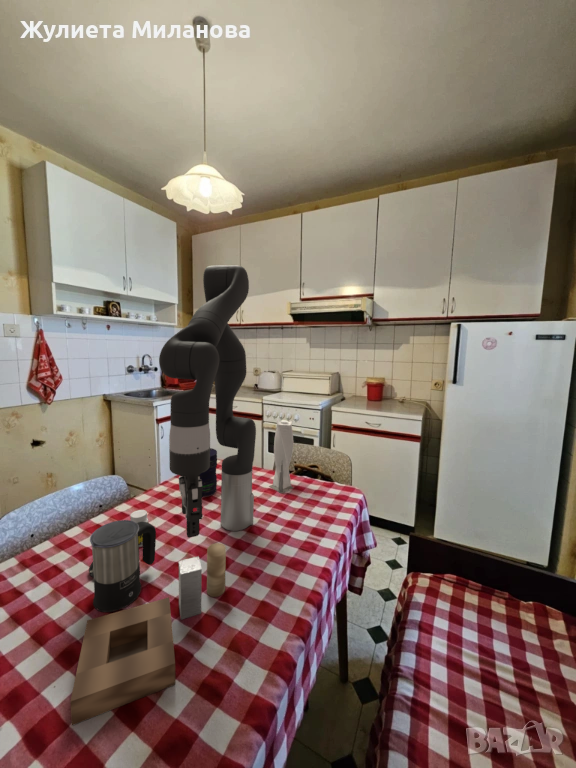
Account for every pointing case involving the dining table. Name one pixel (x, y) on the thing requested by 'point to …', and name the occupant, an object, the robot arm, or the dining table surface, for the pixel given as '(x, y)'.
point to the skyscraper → (282, 456)
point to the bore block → (123, 659)
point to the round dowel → (216, 569)
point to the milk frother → (119, 562)
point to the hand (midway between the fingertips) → (190, 523)
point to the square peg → (190, 587)
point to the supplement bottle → (139, 517)
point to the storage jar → (210, 476)
